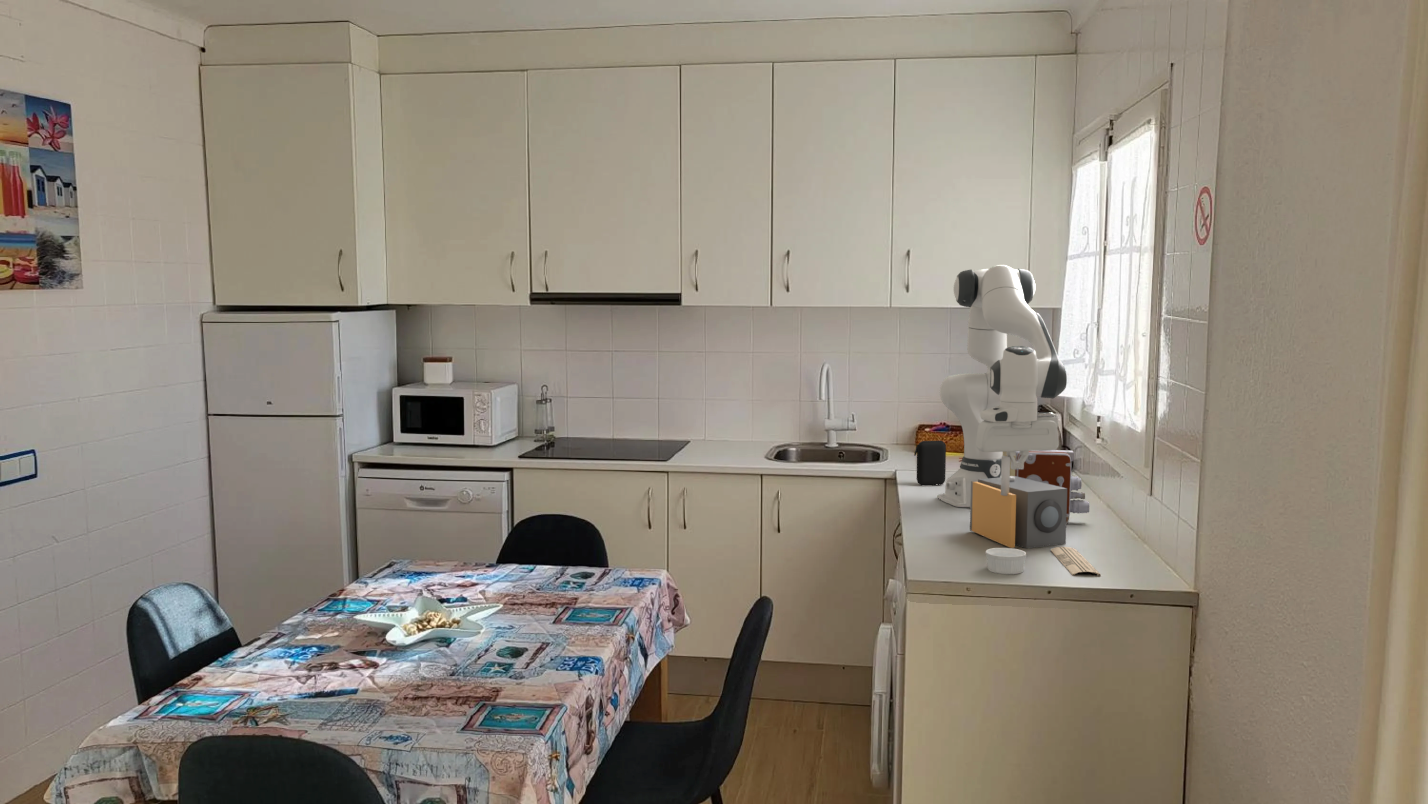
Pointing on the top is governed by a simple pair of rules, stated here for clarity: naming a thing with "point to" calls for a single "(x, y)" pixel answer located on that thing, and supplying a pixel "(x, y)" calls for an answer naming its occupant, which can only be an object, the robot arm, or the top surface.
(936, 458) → the carrying case or bag
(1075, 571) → the newspaper
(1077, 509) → the cine camera
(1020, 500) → the box
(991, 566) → the ramekin
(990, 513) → the door
